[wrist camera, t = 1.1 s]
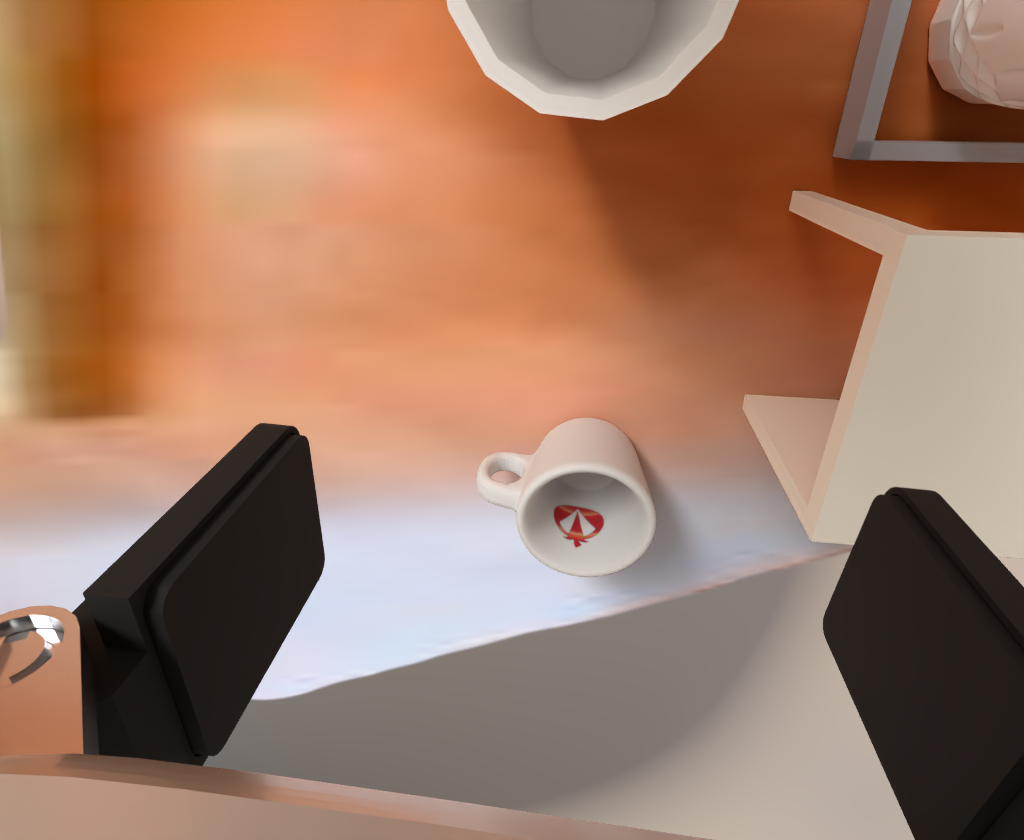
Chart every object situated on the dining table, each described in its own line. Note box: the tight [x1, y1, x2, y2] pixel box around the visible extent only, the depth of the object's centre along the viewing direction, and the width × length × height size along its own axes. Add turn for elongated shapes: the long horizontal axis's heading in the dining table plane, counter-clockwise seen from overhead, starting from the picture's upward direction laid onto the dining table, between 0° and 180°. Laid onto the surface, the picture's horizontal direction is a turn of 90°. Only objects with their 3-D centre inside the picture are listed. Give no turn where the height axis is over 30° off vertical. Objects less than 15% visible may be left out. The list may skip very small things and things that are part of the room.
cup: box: [476, 418, 657, 577], centre depth 37 cm, size 11×8×8 cm
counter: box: [742, 191, 1024, 559], centre depth 28 cm, size 13×16×13 cm
